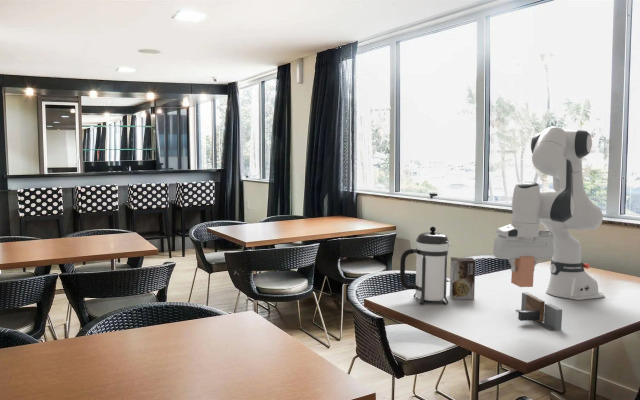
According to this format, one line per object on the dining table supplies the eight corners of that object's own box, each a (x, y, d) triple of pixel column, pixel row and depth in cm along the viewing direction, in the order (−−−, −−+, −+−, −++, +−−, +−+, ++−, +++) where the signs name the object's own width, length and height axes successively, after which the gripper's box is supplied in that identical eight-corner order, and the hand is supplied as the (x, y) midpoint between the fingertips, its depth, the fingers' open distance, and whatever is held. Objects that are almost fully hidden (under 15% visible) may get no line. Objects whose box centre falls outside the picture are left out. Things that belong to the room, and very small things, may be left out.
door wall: (526, 310, 198) (527, 292, 197) (561, 330, 176) (562, 309, 175) (516, 310, 197) (516, 292, 196) (549, 330, 175) (550, 310, 175)
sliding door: (529, 313, 191) (530, 294, 190) (543, 321, 182) (544, 301, 181) (507, 314, 190) (508, 295, 189) (520, 322, 181) (521, 302, 180)
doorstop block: (523, 282, 180) (525, 253, 179) (532, 286, 174) (534, 257, 173) (511, 282, 179) (512, 253, 178) (520, 287, 173) (521, 257, 172)
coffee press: (423, 293, 220) (425, 222, 218) (456, 301, 209) (459, 226, 206) (398, 301, 208) (400, 226, 205) (432, 310, 197) (435, 231, 194)
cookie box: (471, 295, 218) (472, 257, 216) (474, 300, 211) (476, 260, 210) (449, 294, 219) (450, 256, 217) (451, 299, 212) (452, 259, 211)
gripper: (548, 229, 180) (546, 268, 181) (491, 229, 177) (490, 269, 178) (559, 231, 173) (556, 272, 174) (500, 232, 171) (498, 273, 172)
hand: (522, 271), depth 176 cm, fingers closed on doorstop block, 4 cm apart
